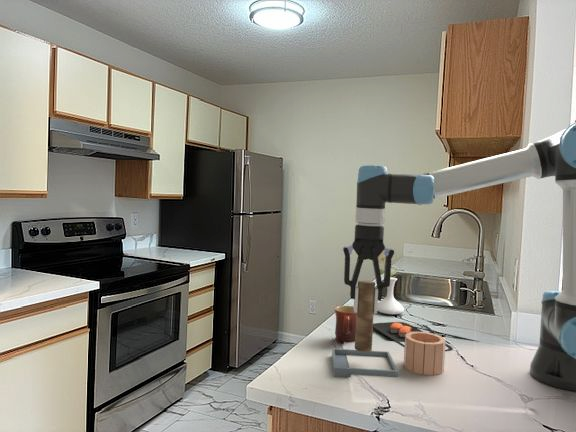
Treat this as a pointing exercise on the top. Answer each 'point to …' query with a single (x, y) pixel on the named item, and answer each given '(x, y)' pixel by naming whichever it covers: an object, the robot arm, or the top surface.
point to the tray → (343, 368)
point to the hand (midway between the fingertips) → (365, 311)
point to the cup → (424, 353)
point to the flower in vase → (388, 293)
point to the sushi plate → (405, 331)
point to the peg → (365, 316)
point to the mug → (345, 324)
